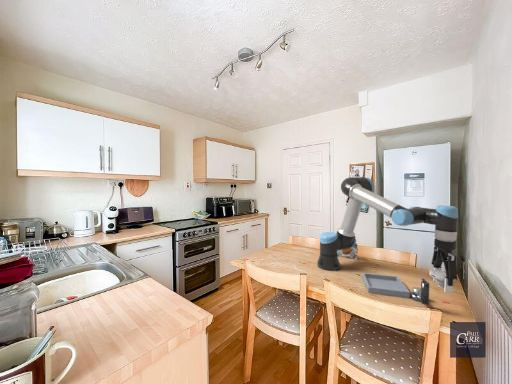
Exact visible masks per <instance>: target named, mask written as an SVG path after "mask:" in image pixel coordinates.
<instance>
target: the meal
mask: <svg viewBox="0 0 512 384" xmlns="http://www.w3.org/2000/svg"><path fill="white" fill-rule="evenodd" d="M358 252H359V251H358V243H357V242H356V244H355V245H354V247H352V248H350V249H344V250H338V251H337V257H338V258H340V257H341V258H349V259H351V260H353V259H354V260H356V261H357V260H358Z"/></svg>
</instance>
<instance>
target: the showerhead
mask: <svg viewBox="0 0 512 384" xmlns="http://www.w3.org/2000/svg"><path fill="white" fill-rule="evenodd" d="M428 273H429V276H430V277H432V278H433V277H434V278H435V281H434V282H435V283H436V284H437V285H438V288H441V289H444V287H445V277H446V272H445V270H442V269H441V270H434V269H431V270H429V272H428ZM456 281H457V280H456V279H453V282H456Z"/></svg>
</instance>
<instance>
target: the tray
mask: <svg viewBox="0 0 512 384" xmlns="http://www.w3.org/2000/svg"><path fill="white" fill-rule="evenodd" d="M361 275H362V277H361V279H362V280H363V283H364V285H365V288H366V290H367V292H368V294H373V295H374V294H376V295H382V296H391V297H399V298H407V299H411V298H410V293H411V291H409V289H408V287H406V285H405V284H404V283H403V281H402V280H401V279H400V277H398V275H397V276H396V275H395V276H394V275H389V274H388V275H386V274H379V273H378V274H377V273H368V272H367V273H366V272H362V273H361Z"/></svg>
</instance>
